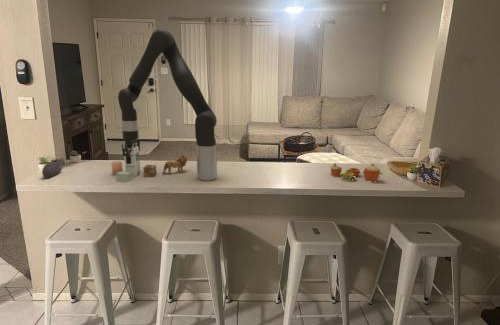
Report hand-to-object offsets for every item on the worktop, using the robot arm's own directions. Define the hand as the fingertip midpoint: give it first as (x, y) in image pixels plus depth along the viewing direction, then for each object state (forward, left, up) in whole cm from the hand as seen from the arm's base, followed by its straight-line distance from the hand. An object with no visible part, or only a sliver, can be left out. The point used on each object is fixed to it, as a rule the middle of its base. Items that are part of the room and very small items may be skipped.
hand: (132, 161), depth 181 cm
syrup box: (0, 0, -7) cm, 7 cm away
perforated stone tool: (+37, +12, -7) cm, 40 cm away
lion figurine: (-19, -9, -7) cm, 22 cm away
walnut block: (-9, -1, -7) cm, 11 cm away
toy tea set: (-112, -25, -7) cm, 115 cm away
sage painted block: (-1, +10, -7) cm, 12 cm away
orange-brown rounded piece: (+8, +1, -7) cm, 10 cm away
